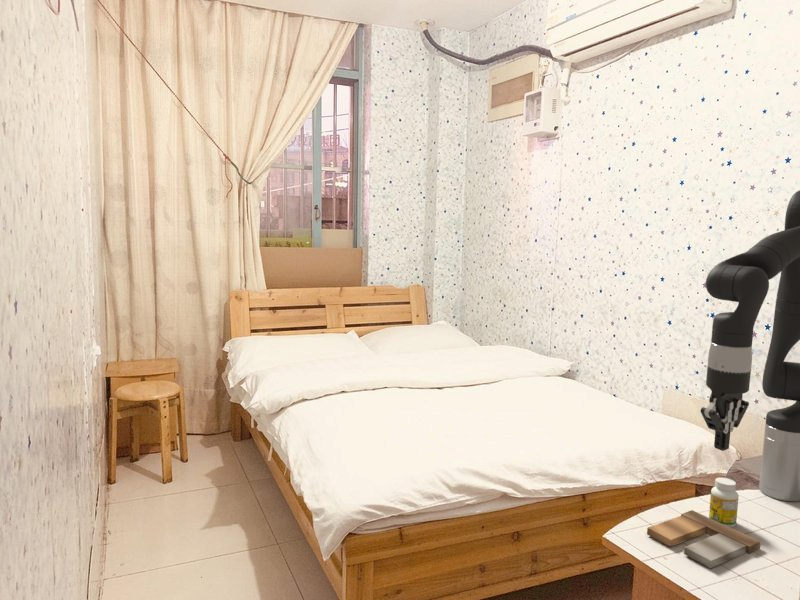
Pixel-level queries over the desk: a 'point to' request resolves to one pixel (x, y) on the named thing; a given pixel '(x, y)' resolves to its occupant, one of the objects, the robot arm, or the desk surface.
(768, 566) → the desk surface
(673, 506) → the desk surface
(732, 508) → the supplement bottle
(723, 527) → the walnut panel
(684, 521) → the chestnut plank
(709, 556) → the grey ash plank
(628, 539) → the desk surface
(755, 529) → the desk surface
